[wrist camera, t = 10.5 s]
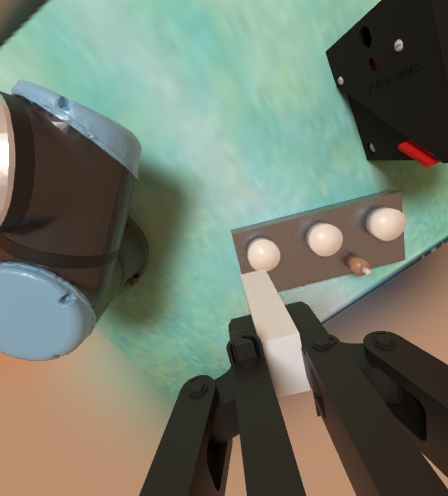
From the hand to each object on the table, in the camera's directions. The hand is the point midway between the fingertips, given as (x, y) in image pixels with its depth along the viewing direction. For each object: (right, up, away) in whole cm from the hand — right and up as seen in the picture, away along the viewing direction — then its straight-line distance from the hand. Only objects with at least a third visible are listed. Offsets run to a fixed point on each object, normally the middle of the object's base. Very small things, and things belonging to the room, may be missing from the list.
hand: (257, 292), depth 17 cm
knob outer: (+23, +8, +32) cm, 41 cm away
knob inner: (+4, +3, +33) cm, 33 cm away
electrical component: (+21, +26, +27) cm, 43 cm away
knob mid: (+14, +5, +33) cm, 36 cm away
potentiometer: (+20, 0, +32) cm, 38 cm away
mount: (+14, +4, +34) cm, 37 cm away
